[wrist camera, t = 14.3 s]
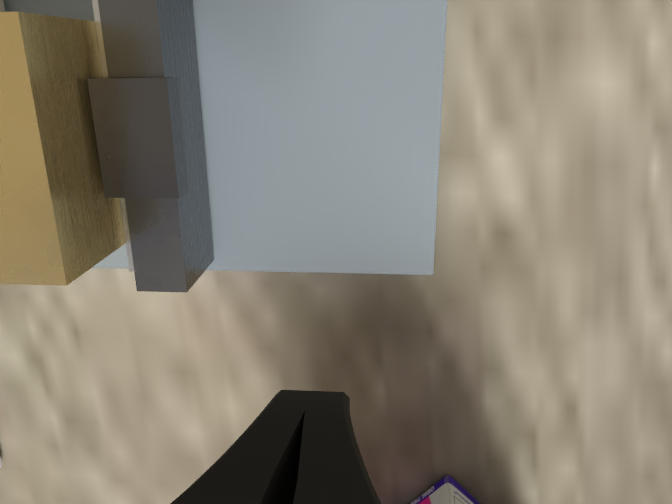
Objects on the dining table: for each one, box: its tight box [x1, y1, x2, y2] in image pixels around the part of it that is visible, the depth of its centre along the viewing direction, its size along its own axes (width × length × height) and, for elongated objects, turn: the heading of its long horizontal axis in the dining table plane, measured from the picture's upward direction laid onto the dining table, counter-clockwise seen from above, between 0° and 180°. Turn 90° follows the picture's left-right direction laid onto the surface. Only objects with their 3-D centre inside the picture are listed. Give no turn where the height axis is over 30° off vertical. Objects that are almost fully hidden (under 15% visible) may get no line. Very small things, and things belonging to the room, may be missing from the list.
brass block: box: [0, 12, 125, 285], centre depth 15 cm, size 4×6×6 cm, turn 0°
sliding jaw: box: [87, 0, 214, 292], centre depth 16 cm, size 2×9×4 cm, turn 1°
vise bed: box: [0, 0, 447, 275], centre depth 17 cm, size 15×10×4 cm, turn 91°
